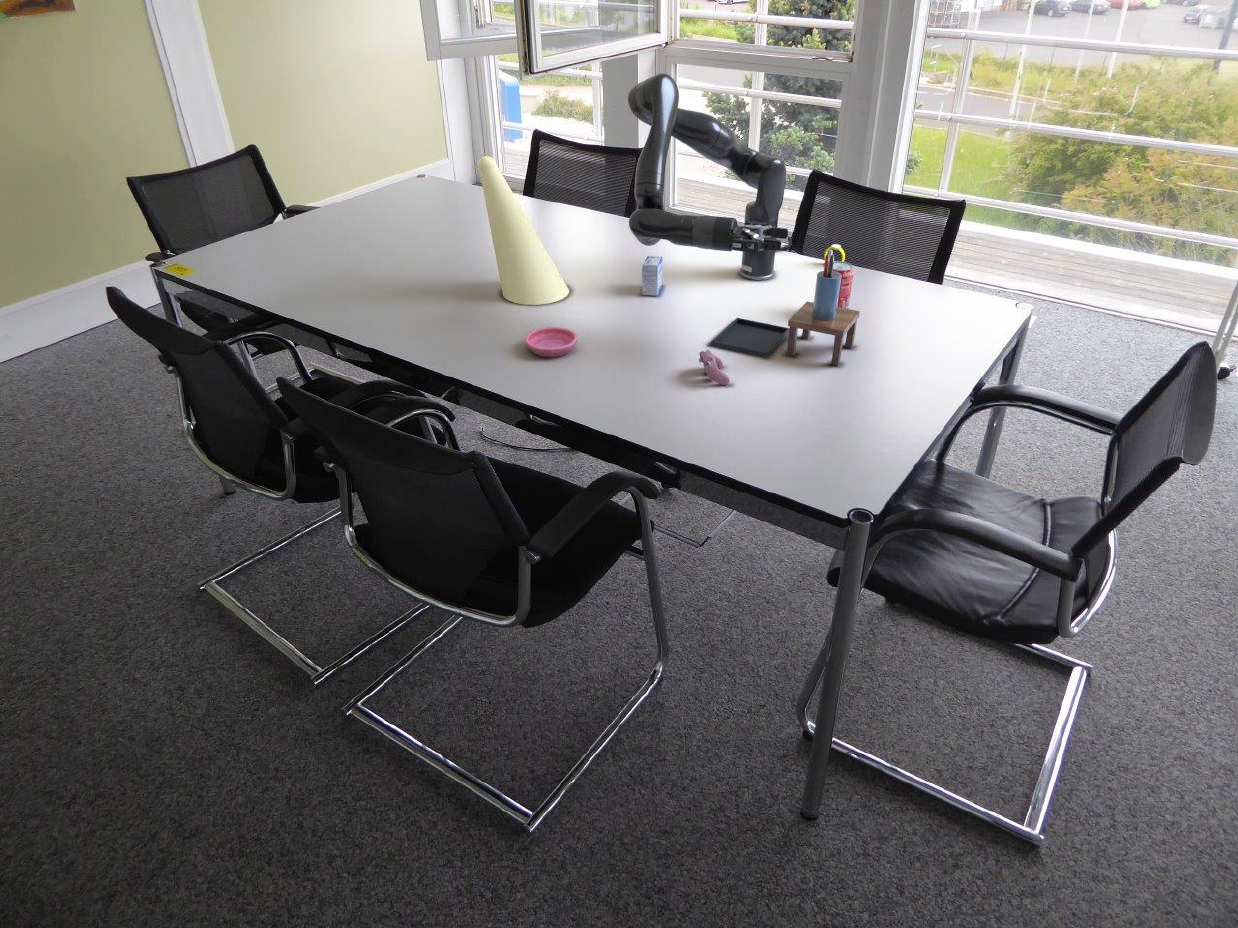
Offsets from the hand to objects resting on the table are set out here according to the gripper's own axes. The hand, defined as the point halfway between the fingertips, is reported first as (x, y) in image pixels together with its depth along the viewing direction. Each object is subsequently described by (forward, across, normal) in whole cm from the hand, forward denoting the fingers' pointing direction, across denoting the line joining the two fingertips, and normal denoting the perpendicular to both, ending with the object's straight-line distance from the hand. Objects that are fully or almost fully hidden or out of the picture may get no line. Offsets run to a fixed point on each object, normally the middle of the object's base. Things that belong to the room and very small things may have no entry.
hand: (784, 239), depth 196 cm
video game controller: (-10, -21, +26) cm, 35 cm away
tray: (-6, +1, +26) cm, 27 cm away
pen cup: (+11, 0, +17) cm, 20 cm away
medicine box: (-39, +24, +26) cm, 53 cm away
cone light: (-72, +14, +26) cm, 78 cm away
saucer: (-50, -19, +26) cm, 60 cm away
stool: (+11, 0, +26) cm, 28 cm away
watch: (+6, +60, +27) cm, 66 cm away
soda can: (+11, +24, +26) cm, 37 cm away
